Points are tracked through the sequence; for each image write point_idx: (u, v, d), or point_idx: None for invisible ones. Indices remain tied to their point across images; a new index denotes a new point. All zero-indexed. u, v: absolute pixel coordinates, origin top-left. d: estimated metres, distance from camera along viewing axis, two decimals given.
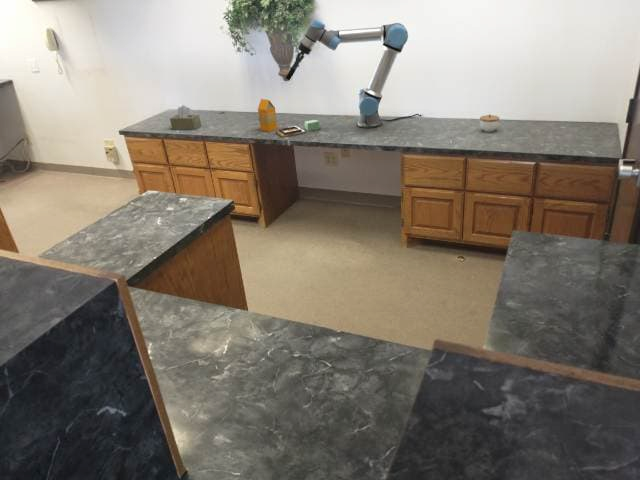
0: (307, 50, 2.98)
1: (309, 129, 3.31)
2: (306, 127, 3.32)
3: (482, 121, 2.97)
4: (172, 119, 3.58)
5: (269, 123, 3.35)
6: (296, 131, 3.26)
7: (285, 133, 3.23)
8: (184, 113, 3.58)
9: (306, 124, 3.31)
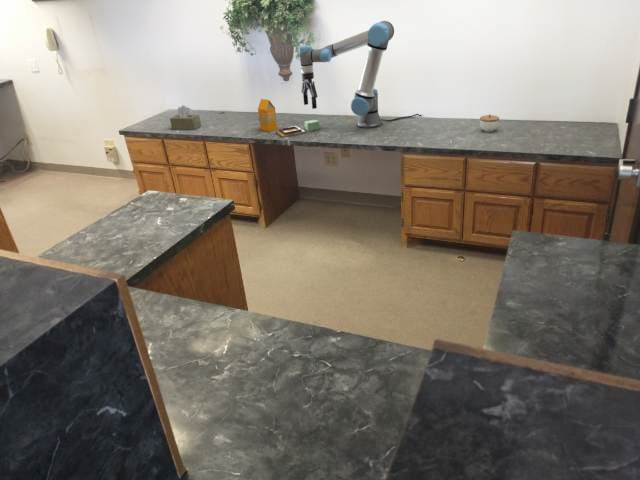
0: (312, 75, 3.16)
1: (309, 129, 3.31)
2: (306, 127, 3.32)
3: (482, 121, 2.97)
4: (172, 119, 3.58)
5: (269, 123, 3.35)
6: (296, 131, 3.26)
7: (285, 133, 3.23)
8: (184, 113, 3.58)
9: (306, 124, 3.31)
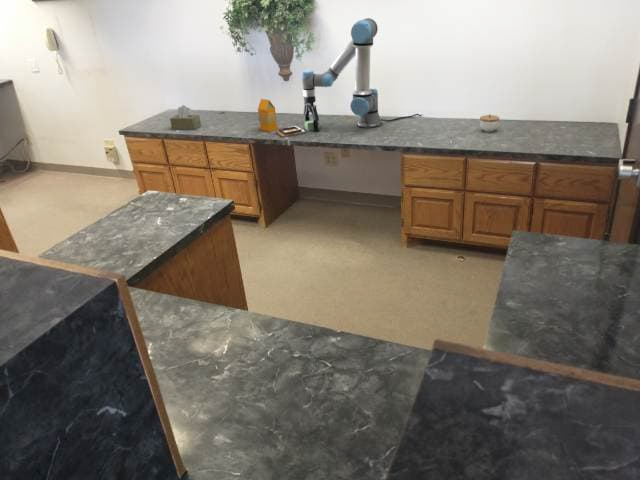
0: (314, 98, 3.23)
1: (309, 129, 3.31)
2: (306, 127, 3.32)
3: (482, 121, 2.97)
4: (172, 119, 3.58)
5: (269, 123, 3.35)
6: (296, 131, 3.26)
7: (285, 133, 3.23)
8: (184, 113, 3.58)
9: (306, 124, 3.31)
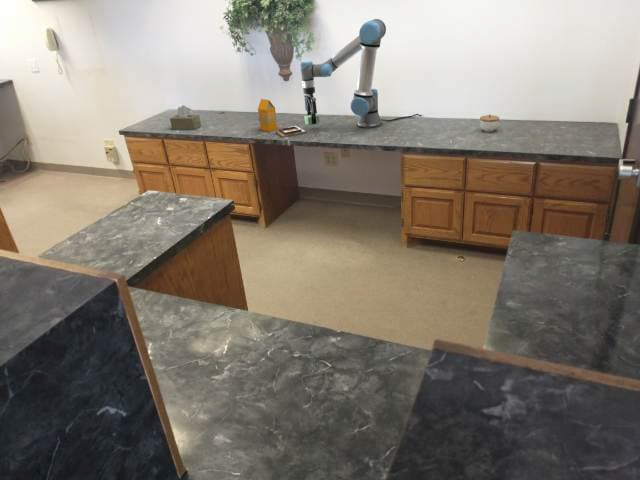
0: (313, 89, 3.20)
1: (309, 123, 3.29)
2: (306, 121, 3.31)
3: (482, 121, 2.97)
4: (172, 119, 3.58)
5: (269, 123, 3.35)
6: (296, 131, 3.26)
7: (285, 133, 3.23)
8: (184, 113, 3.58)
9: (306, 118, 3.29)
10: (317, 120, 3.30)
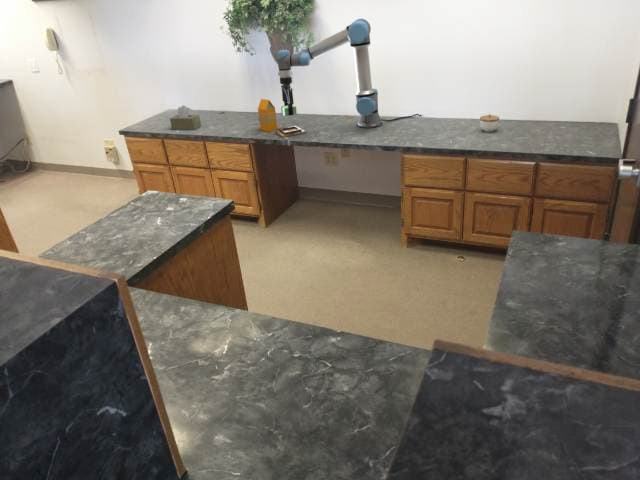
0: (290, 79, 3.13)
1: (286, 114, 3.21)
2: (283, 112, 3.23)
3: (482, 121, 2.97)
4: (172, 119, 3.58)
5: (269, 123, 3.35)
6: (296, 131, 3.26)
7: (285, 133, 3.23)
8: (184, 113, 3.58)
9: (283, 109, 3.22)
10: (294, 111, 3.23)
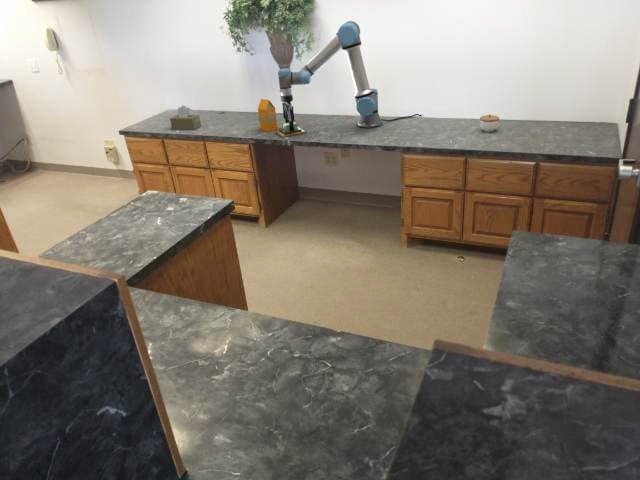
0: (291, 97, 3.18)
1: (287, 131, 3.26)
2: (284, 129, 3.28)
3: (482, 121, 2.97)
4: (172, 119, 3.58)
5: (269, 123, 3.35)
6: (296, 131, 3.26)
7: (285, 133, 3.23)
8: (184, 113, 3.58)
9: (284, 126, 3.26)
10: (295, 128, 3.27)
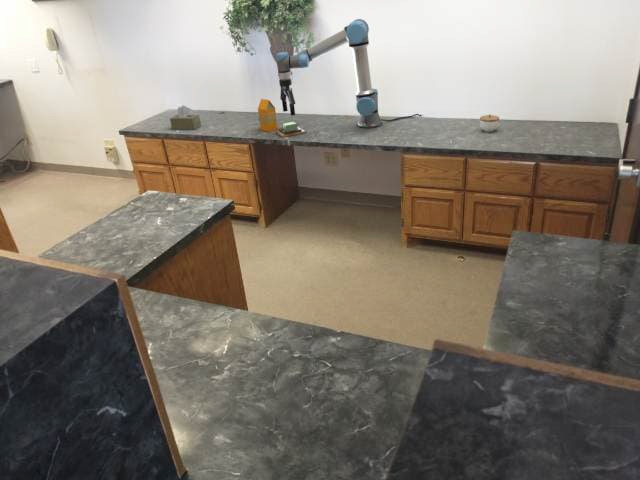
0: (289, 81, 3.13)
1: (287, 131, 3.26)
2: (284, 129, 3.28)
3: (482, 121, 2.97)
4: (172, 119, 3.58)
5: (269, 123, 3.35)
6: (296, 131, 3.26)
7: (285, 133, 3.23)
8: (184, 113, 3.58)
9: (284, 126, 3.26)
10: (295, 128, 3.27)
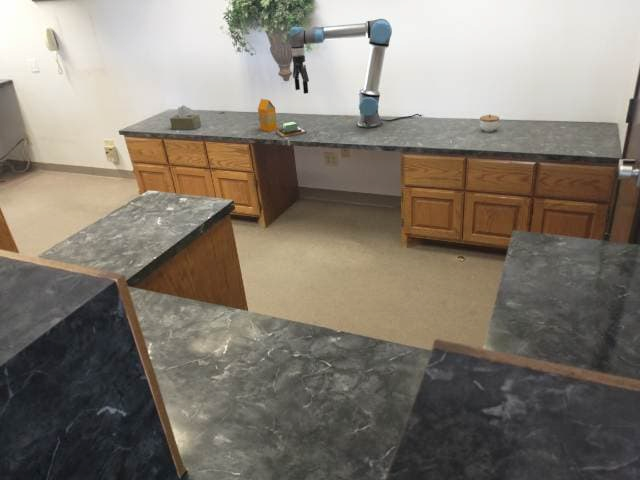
0: (303, 58, 3.02)
1: (287, 131, 3.26)
2: (284, 129, 3.28)
3: (482, 121, 2.97)
4: (172, 119, 3.58)
5: (269, 123, 3.35)
6: (296, 131, 3.26)
7: (285, 133, 3.23)
8: (184, 113, 3.58)
9: (284, 126, 3.26)
10: (295, 128, 3.27)
